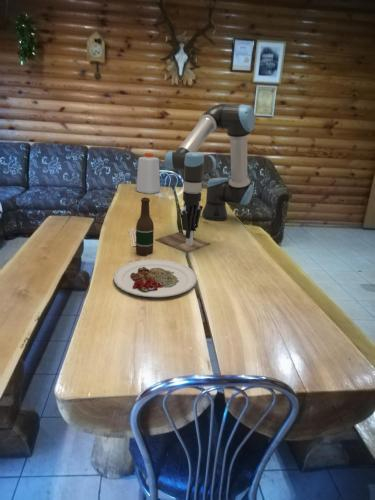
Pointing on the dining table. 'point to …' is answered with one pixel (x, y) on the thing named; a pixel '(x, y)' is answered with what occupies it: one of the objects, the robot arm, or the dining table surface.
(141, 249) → the beer bottle
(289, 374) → the dining table surface
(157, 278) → the plated food
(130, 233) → the newspaper
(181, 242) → the floor panel
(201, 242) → the plank
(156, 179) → the white thread spool
